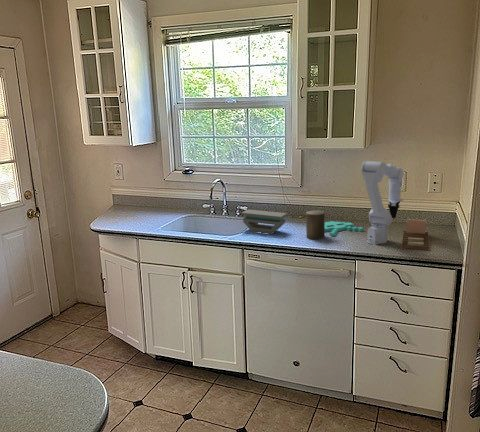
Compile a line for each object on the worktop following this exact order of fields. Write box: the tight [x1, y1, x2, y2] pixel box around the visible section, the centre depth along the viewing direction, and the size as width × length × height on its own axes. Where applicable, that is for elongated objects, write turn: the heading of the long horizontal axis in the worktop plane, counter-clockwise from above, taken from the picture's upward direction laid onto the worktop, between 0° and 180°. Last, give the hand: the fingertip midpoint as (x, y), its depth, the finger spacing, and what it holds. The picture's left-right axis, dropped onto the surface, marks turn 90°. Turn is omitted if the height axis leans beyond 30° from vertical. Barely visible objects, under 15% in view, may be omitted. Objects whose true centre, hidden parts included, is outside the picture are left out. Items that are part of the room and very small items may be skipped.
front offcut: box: [408, 242, 424, 246], centre depth 214 cm, size 2×7×3 cm, turn 69°
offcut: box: [408, 237, 423, 242], centre depth 219 cm, size 2×7×3 cm, turn 69°
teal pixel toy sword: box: [325, 220, 364, 238], centre depth 251 cm, size 20×2×20 cm
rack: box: [400, 230, 431, 252], centre depth 222 cm, size 26×13×3 cm, turn 159°
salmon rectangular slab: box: [405, 218, 427, 234], centre depth 230 cm, size 2×9×8 cm, turn 69°
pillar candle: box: [305, 209, 326, 240], centre depth 238 cm, size 10×10×15 cm
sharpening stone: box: [240, 209, 288, 235], centre depth 253 cm, size 25×8×11 cm, turn 60°
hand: (393, 216), depth 234 cm, fingers open, 7 cm apart
